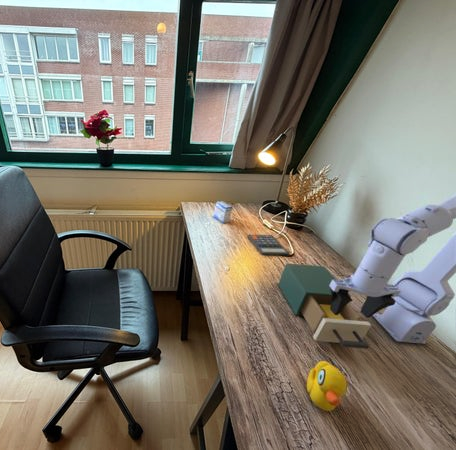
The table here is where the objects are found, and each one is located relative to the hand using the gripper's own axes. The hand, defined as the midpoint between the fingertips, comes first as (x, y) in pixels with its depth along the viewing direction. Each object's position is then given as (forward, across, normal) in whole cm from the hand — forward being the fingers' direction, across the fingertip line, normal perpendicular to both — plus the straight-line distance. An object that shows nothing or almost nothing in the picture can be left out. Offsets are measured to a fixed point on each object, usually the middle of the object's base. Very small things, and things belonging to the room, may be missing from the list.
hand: (349, 313), depth 61 cm
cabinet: (+10, 0, -15) cm, 18 cm away
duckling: (+11, +12, +15) cm, 22 cm away
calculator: (+10, +1, -48) cm, 49 cm away
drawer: (+9, 0, -3) cm, 10 cm away
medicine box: (+11, +18, -71) cm, 74 cm away
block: (+8, 0, -5) cm, 10 cm away
